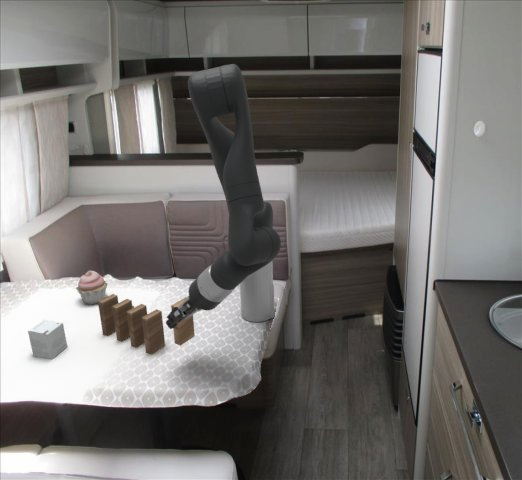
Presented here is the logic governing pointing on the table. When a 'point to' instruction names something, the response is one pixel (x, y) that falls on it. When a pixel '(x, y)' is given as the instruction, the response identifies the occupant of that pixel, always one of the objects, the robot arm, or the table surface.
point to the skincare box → (47, 339)
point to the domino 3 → (136, 325)
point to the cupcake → (92, 287)
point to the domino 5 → (183, 327)
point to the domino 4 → (153, 331)
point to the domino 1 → (107, 314)
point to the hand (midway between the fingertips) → (177, 320)
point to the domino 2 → (122, 319)
